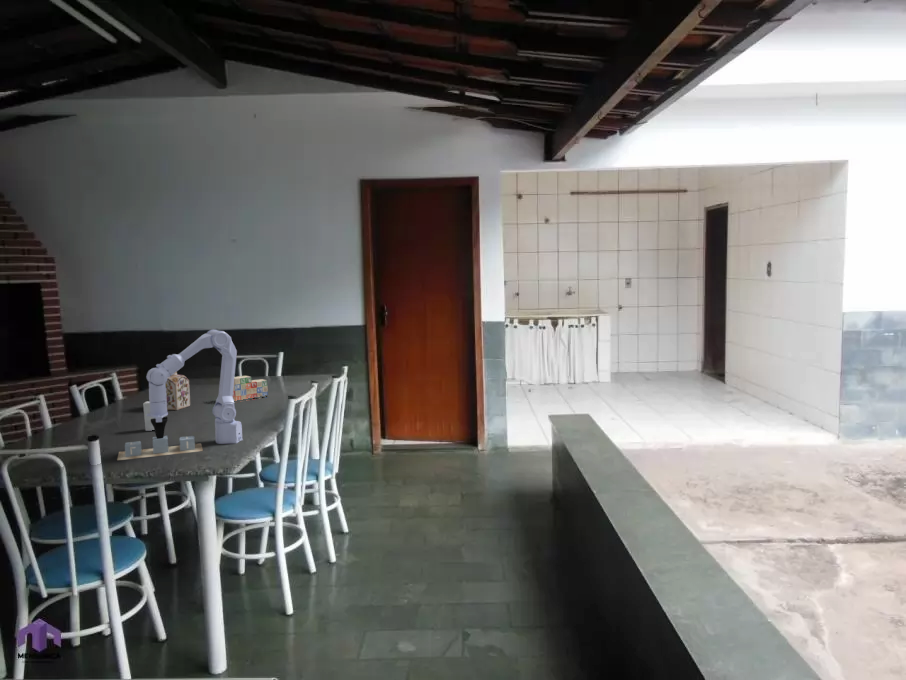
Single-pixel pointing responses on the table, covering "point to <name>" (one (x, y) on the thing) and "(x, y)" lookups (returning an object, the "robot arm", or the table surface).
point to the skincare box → (147, 417)
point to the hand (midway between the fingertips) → (160, 437)
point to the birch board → (150, 453)
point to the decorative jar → (177, 392)
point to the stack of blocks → (248, 388)
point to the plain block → (160, 445)
